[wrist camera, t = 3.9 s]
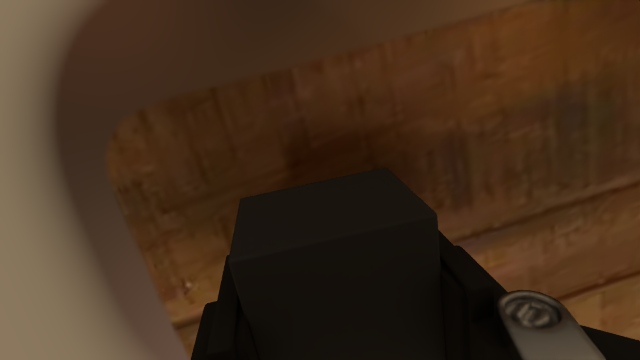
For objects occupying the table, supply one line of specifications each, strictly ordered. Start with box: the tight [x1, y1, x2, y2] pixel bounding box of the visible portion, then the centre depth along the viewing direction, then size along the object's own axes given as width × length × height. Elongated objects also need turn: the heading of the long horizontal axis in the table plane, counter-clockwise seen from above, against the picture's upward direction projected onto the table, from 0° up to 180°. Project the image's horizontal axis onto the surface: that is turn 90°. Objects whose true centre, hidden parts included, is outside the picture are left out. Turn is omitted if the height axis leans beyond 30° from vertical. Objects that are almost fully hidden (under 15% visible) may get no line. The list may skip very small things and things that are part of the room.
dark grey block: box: [228, 168, 447, 360], centre depth 10 cm, size 6×4×4 cm
